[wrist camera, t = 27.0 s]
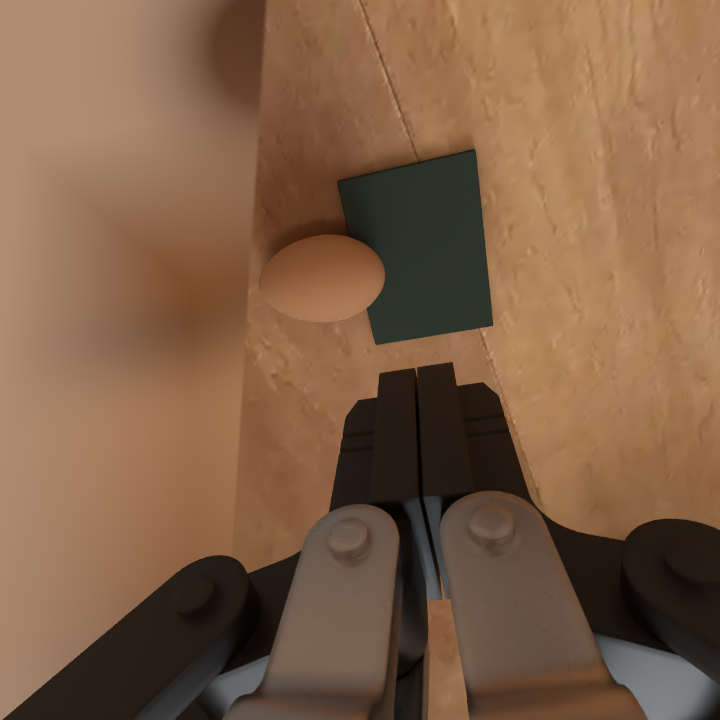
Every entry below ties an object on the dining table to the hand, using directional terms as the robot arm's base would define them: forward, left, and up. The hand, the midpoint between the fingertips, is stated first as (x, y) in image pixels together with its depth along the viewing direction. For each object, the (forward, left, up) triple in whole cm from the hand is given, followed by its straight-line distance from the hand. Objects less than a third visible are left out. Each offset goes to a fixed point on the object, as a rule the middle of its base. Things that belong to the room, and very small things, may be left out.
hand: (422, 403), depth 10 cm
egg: (+3, -2, -18) cm, 18 cm away
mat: (+4, 0, -21) cm, 21 cm away
